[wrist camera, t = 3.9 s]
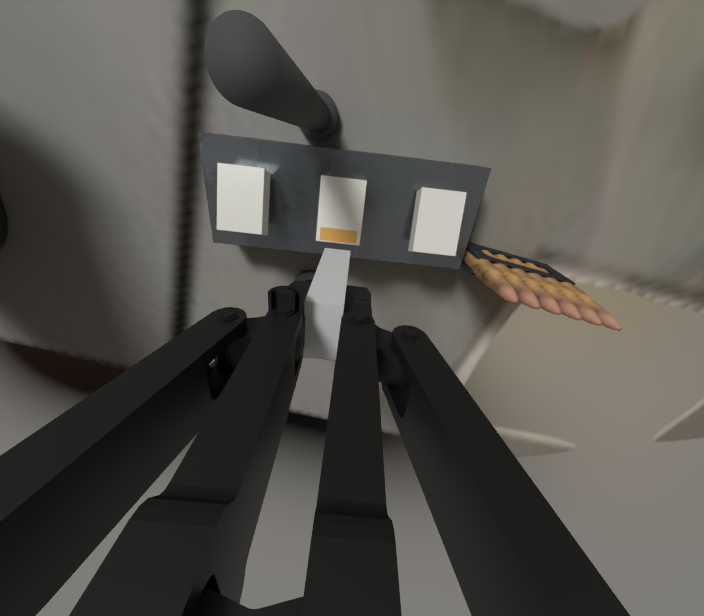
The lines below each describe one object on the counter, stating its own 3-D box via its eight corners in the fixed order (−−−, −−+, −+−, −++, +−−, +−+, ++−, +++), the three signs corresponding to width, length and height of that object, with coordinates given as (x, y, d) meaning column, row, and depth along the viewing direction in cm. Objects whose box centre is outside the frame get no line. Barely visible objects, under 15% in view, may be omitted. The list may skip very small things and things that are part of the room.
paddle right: (408, 251, 25) (412, 251, 23) (416, 191, 24) (422, 187, 22) (448, 255, 25) (455, 256, 23) (458, 196, 24) (466, 192, 22)
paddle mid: (318, 241, 25) (315, 240, 23) (323, 180, 24) (321, 174, 22) (358, 245, 25) (359, 245, 23) (365, 185, 24) (366, 180, 22)
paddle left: (226, 230, 25) (216, 229, 23) (227, 169, 24) (217, 162, 22) (267, 235, 25) (261, 234, 23) (270, 174, 24) (264, 168, 22)
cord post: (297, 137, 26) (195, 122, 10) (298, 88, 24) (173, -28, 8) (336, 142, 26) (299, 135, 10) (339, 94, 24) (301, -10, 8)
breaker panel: (229, 231, 31) (213, 242, 27) (219, 134, 26) (197, 132, 23) (448, 255, 31) (459, 269, 28) (474, 165, 27) (491, 168, 23)
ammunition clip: (547, 264, 32) (639, 322, 21) (538, 279, 33) (622, 342, 22) (459, 239, 31) (511, 288, 20) (452, 255, 31) (498, 309, 21)
